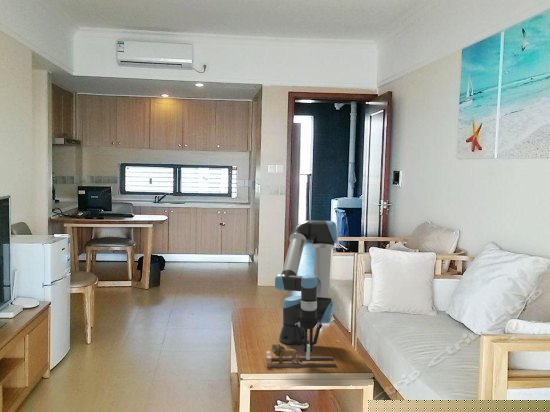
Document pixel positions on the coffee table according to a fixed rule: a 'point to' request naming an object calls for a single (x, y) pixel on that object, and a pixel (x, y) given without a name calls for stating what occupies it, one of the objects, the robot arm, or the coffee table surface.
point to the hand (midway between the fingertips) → (307, 358)
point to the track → (269, 364)
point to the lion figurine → (284, 352)
